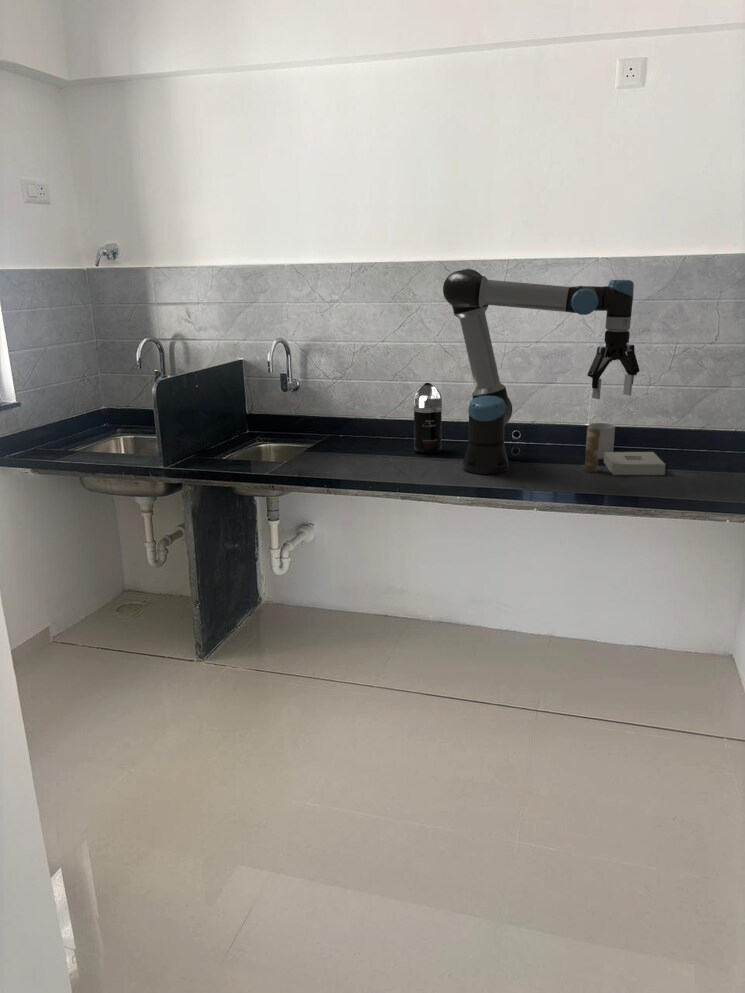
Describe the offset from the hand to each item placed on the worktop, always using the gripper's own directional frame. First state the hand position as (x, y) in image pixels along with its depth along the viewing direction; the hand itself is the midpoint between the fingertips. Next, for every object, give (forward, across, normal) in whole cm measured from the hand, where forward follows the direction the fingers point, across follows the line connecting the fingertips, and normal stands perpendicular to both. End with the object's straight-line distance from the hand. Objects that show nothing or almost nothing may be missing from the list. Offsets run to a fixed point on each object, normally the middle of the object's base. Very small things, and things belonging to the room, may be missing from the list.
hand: (611, 396), depth 254 cm
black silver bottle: (+24, -40, +49) cm, 67 cm away
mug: (+23, +6, +10) cm, 26 cm away
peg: (+23, -9, -3) cm, 25 cm away
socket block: (+23, +4, -8) cm, 25 cm away
